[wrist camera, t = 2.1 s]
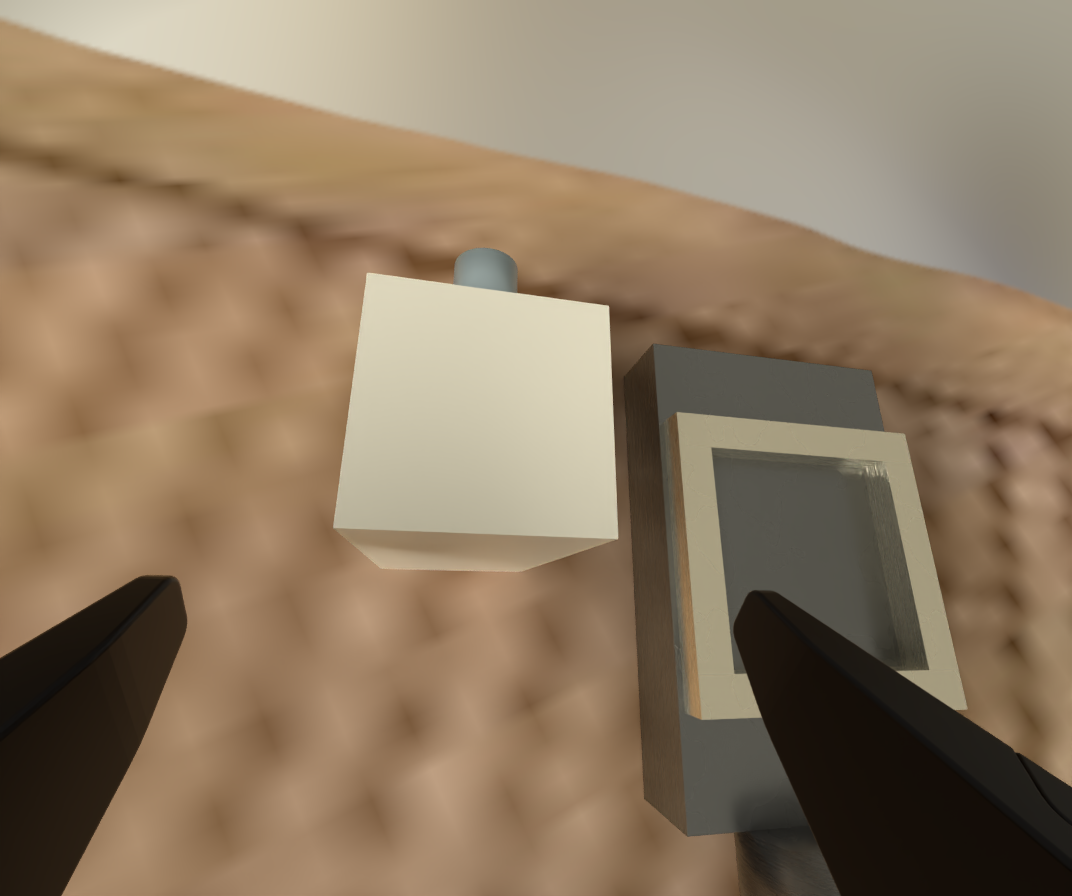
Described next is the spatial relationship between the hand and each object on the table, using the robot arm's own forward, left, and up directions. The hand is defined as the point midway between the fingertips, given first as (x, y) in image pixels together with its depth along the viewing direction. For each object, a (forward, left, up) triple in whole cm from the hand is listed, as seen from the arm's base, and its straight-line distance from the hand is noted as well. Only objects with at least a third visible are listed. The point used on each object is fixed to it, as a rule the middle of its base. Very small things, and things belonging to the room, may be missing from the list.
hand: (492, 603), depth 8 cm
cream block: (+4, 0, -10) cm, 11 cm away
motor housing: (-1, -12, -10) cm, 16 cm away
